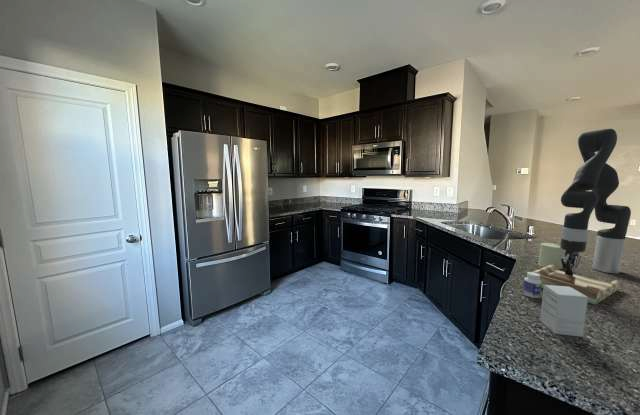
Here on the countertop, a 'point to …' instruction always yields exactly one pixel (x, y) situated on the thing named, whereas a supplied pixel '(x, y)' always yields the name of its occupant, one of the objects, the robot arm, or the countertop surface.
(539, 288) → the pill bottle
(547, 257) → the can
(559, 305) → the supplement box
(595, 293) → the board
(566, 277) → the block
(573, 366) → the countertop surface
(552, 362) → the countertop surface
